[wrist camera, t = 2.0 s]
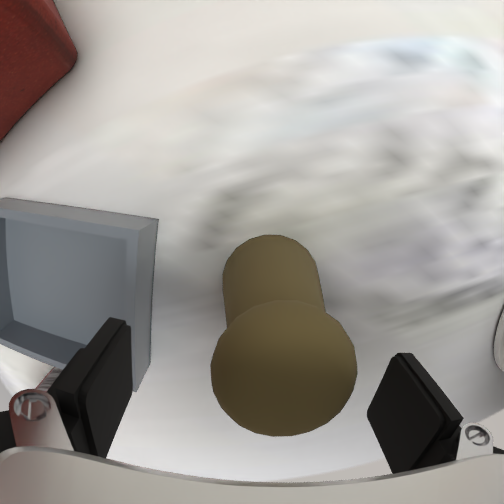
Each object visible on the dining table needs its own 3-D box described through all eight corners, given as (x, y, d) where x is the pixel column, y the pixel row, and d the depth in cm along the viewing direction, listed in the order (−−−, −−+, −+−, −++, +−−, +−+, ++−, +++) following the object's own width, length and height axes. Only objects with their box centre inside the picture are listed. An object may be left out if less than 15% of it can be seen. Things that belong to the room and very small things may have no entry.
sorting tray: (158, 219, 19) (139, 230, 15) (150, 362, 21) (136, 392, 18) (5, 197, 18) (-25, 204, 15) (14, 321, 21) (-9, 339, 17)
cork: (328, 243, 19) (408, 330, 8) (306, 330, 20) (344, 459, 10) (230, 226, 19) (201, 302, 8) (215, 317, 20) (186, 447, 10)
